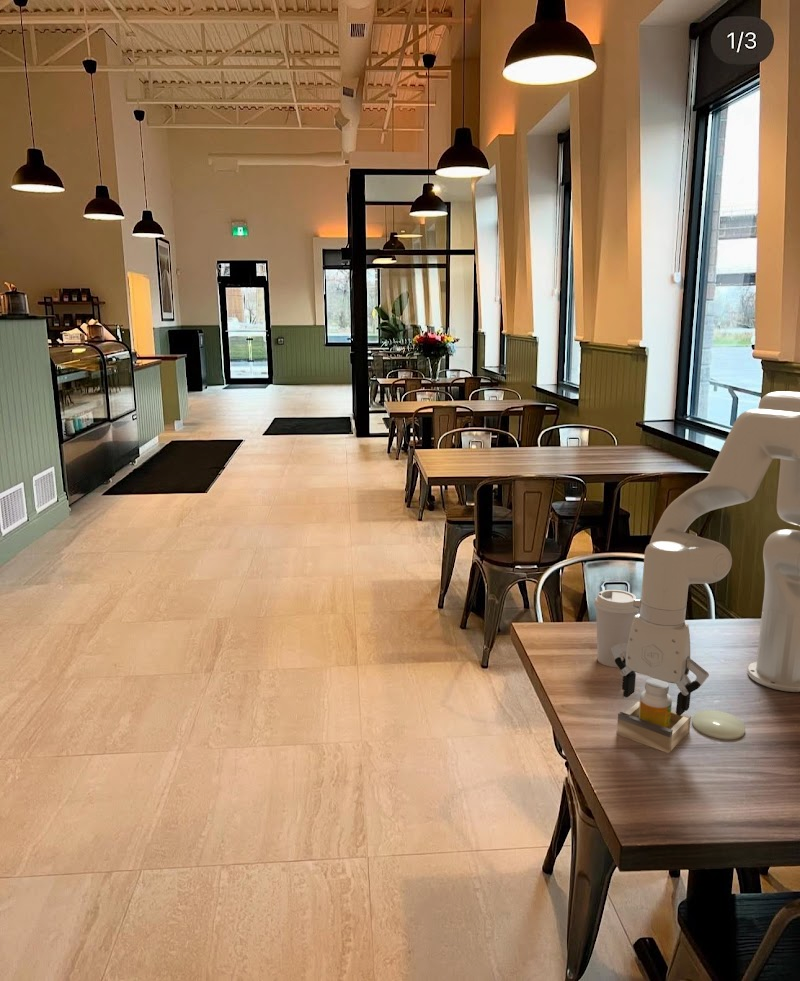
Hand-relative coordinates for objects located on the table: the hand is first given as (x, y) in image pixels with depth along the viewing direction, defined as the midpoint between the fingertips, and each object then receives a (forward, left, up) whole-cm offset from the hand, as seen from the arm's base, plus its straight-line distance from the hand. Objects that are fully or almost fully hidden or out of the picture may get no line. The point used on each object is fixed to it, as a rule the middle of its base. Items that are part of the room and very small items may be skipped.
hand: (654, 703), depth 136 cm
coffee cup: (-23, -19, -6) cm, 31 cm away
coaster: (-10, +8, -6) cm, 14 cm away
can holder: (0, 0, -6) cm, 6 cm away
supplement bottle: (0, 0, -6) cm, 6 cm away
